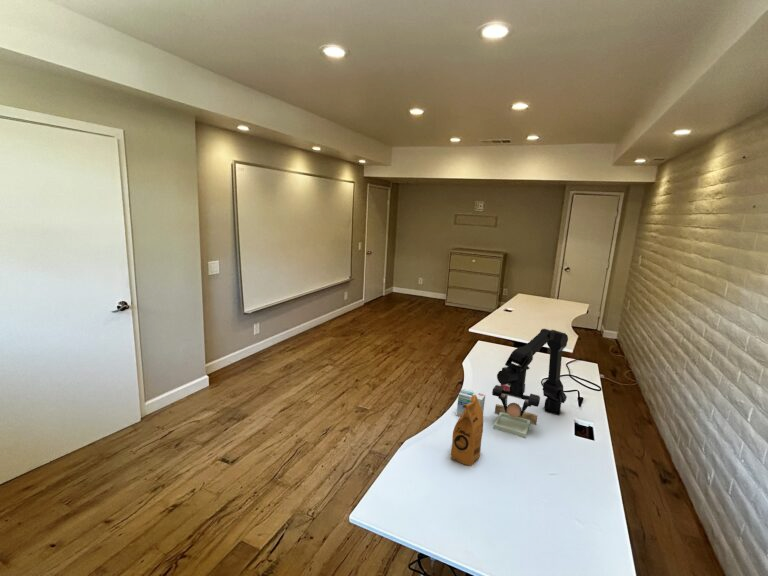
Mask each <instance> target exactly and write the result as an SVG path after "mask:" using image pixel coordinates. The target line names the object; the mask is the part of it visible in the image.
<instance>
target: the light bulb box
mask: <svg viewBox="0 0 768 576" xmlns="http://www.w3.org/2000/svg"><path fill="white" fill-rule="evenodd" d="M473 395H476V396H477V399H478V401H479V404H480V406H481V409H482V412H483V413H484V411H485V403H486V402H485V401H486V394H485V393H481V392H478V391H474V390H470V389H466V388H462V389H461V391H459V393H458V397H457V406H456V417H459V418H460V417H461V415H462V413H463V411H464V410H465V409H466V408H463V406H464V405H466V404H470V403H471V397H472V396H473Z"/></svg>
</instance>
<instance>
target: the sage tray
mask: <svg viewBox="0 0 768 576" xmlns="http://www.w3.org/2000/svg"><path fill="white" fill-rule="evenodd" d="M530 425H531V423H530V420H528V419H524V418H521V417H515V418H514V417H511V416H510V415H509V414H506V413H503V412H500V413H499V414H497V417H496V419H495V421H494V423H493V427H492V428H493V429H495V430H497V431H502V432H504V433H507V434H511V435H514V436H518V437H521V438H524V439H526V438H527V434H528V431H529V428H530Z"/></svg>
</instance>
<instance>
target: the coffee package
mask: <svg viewBox="0 0 768 576" xmlns="http://www.w3.org/2000/svg"><path fill="white" fill-rule="evenodd" d="M463 408H466V409H465V410H464V411H463V413H462V415H461V417H460V416H459V418H458V420H457V422H456V423H455V425H454V429H453V431H452V443H451V450H450V457H451V459H452V460H454V461H457V462H458V463H462V464H463V465H465V466H468V467H469V466H470V467H471V466H472V465H473V464H474V463H475V461H476V460H478V459H479V457H480V454H481V448H482V440H483V439H482V438H483V437H482V436H483V433H484V411H483V412H482V409H481V406H480V404H479V401H478V399H477V396H476V395H473V396H472V397H471V403H470V404H466V405H464V406H463Z"/></svg>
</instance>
